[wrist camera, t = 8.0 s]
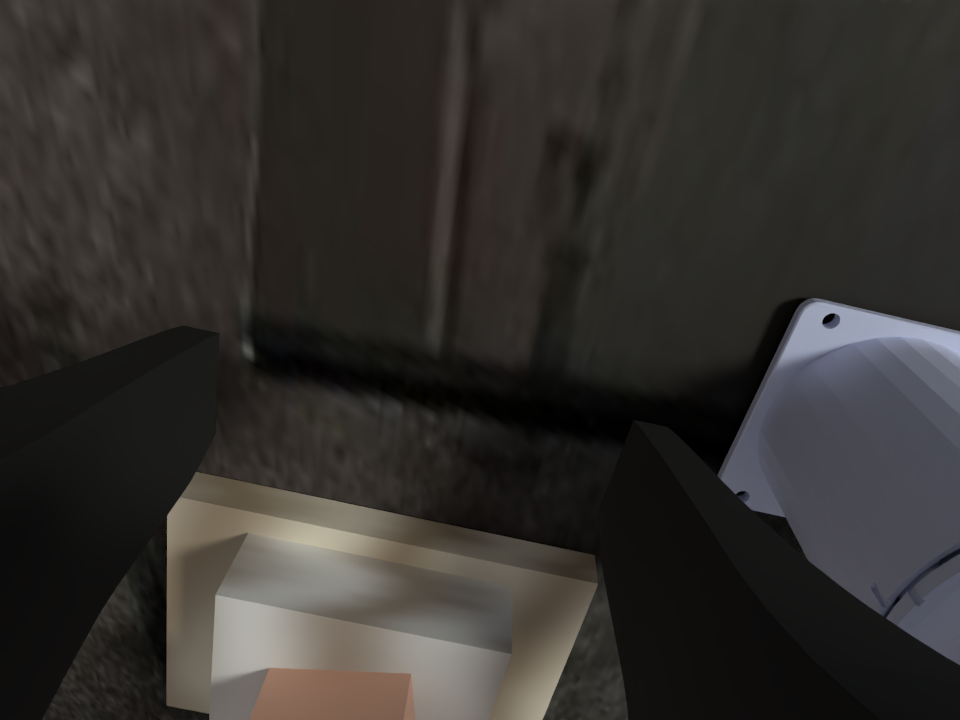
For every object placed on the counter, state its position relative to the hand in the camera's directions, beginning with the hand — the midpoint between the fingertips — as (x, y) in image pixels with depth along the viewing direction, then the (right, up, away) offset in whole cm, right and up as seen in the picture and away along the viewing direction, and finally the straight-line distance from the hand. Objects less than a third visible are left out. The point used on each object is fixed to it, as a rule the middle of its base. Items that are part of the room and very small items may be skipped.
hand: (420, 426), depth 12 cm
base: (-4, -10, +17) cm, 20 cm away
